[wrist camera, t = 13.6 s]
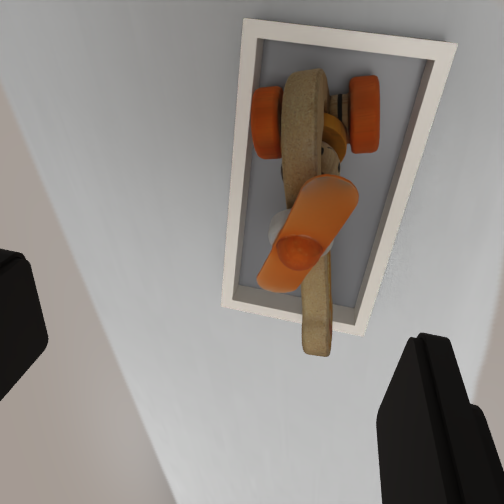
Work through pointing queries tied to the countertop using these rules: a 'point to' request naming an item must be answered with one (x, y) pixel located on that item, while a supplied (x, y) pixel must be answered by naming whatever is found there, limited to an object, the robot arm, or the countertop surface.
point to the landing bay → (352, 166)
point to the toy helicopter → (312, 184)
